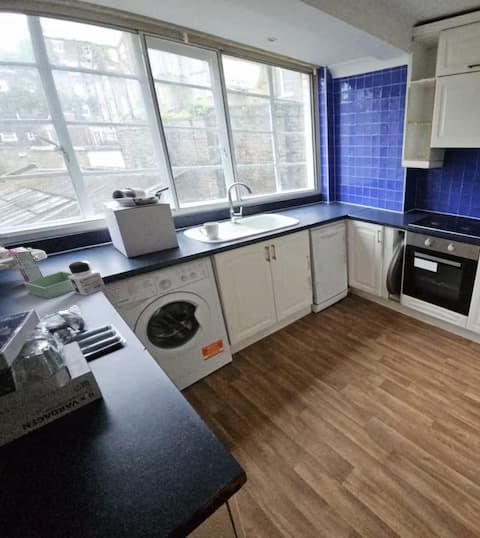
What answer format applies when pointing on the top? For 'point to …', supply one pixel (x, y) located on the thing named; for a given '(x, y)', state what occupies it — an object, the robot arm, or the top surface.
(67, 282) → the tray
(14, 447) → the top surface
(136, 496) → the top surface
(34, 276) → the candy bar box
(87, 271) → the container
